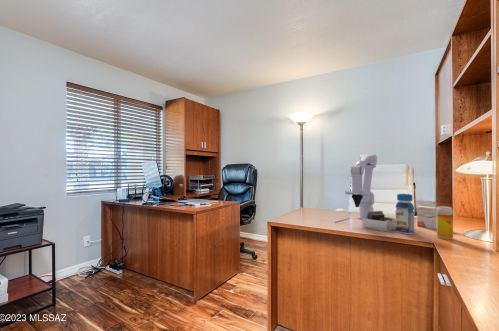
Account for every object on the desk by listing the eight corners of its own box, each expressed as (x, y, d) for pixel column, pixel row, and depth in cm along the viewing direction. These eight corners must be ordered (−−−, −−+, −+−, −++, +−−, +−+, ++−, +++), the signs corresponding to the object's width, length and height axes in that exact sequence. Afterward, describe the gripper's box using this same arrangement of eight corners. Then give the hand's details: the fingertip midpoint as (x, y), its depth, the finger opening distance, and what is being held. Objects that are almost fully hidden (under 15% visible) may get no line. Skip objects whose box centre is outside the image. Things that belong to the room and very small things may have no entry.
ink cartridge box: (417, 226, 139) (416, 201, 140) (418, 225, 143) (418, 200, 143) (435, 229, 134) (435, 202, 134) (436, 227, 137) (436, 201, 137)
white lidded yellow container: (454, 240, 112) (453, 208, 112) (437, 238, 115) (437, 207, 115) (451, 237, 117) (451, 206, 117) (436, 235, 120) (435, 205, 121)
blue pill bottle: (417, 235, 122) (417, 195, 122) (399, 234, 123) (399, 195, 123) (409, 230, 130) (409, 193, 130) (392, 230, 131) (392, 193, 132)
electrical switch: (379, 225, 142) (380, 209, 142) (385, 228, 137) (386, 212, 136) (364, 225, 142) (365, 210, 141) (369, 228, 136) (370, 212, 136)
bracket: (373, 223, 148) (373, 213, 148) (396, 227, 138) (396, 217, 138) (362, 226, 138) (362, 216, 139) (387, 231, 128) (386, 220, 128)
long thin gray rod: (348, 218, 161) (348, 218, 161) (350, 218, 161) (350, 218, 161) (334, 222, 150) (334, 222, 150) (335, 222, 149) (335, 222, 149)
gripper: (342, 184, 151) (342, 206, 151) (366, 185, 140) (366, 209, 140) (348, 184, 156) (348, 205, 156) (371, 185, 145) (371, 207, 145)
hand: (357, 206), depth 148 cm, fingers closed
